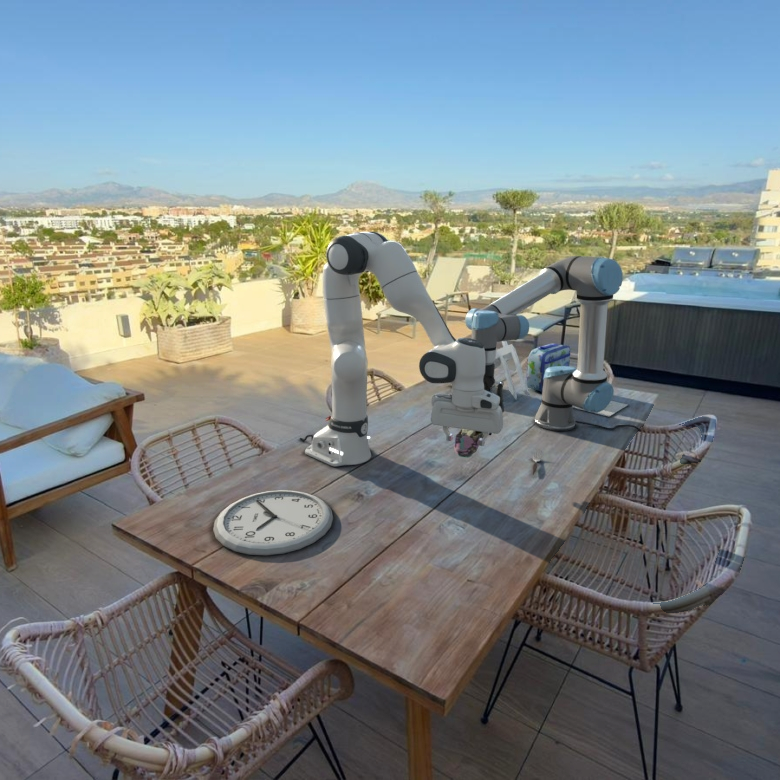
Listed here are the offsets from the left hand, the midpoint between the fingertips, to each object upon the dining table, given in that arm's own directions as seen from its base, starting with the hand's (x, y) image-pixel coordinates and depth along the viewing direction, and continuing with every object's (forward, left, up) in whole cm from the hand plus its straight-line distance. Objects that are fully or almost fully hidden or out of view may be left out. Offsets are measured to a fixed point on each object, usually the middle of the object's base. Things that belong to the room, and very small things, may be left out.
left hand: (465, 442), depth 150 cm
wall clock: (-34, -43, -14) cm, 57 cm away
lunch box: (-6, +116, -14) cm, 117 cm away
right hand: (-3, +17, -3) cm, 18 cm away
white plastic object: (-30, +91, -14) cm, 97 cm away
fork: (+14, +26, -14) cm, 33 cm away
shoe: (-1, +9, -4) cm, 9 cm away
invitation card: (+22, +101, -14) cm, 104 cm away
